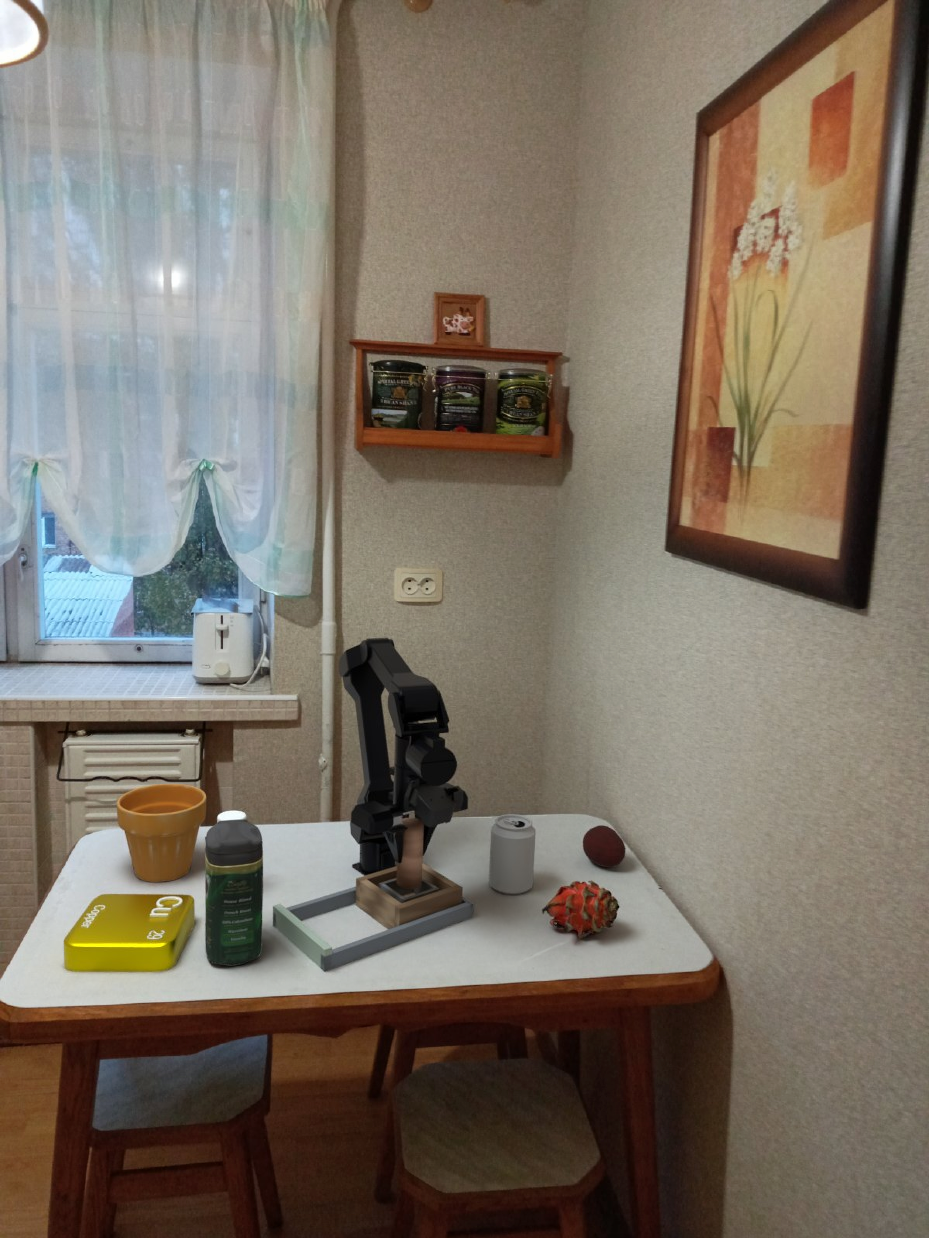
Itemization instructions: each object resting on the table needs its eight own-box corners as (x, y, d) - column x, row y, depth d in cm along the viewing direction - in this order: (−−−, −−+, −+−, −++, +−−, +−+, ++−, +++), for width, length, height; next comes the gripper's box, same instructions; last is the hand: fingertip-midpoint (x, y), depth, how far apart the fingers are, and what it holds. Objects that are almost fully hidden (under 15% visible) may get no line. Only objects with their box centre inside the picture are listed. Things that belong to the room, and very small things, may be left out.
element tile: (97, 918, 135) (96, 889, 135) (197, 919, 136) (197, 890, 136) (59, 974, 121) (57, 941, 120) (172, 974, 122) (171, 942, 121)
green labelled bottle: (265, 964, 124) (266, 838, 121) (207, 971, 122) (205, 844, 119) (259, 929, 133) (259, 812, 130) (204, 936, 131) (203, 816, 128)
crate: (355, 904, 141) (356, 878, 141) (416, 885, 149) (417, 859, 148) (398, 936, 132) (399, 908, 132) (461, 914, 140) (462, 887, 139)
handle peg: (391, 881, 140) (393, 821, 139) (412, 874, 143) (414, 815, 141) (406, 891, 137) (408, 829, 135) (426, 884, 140) (429, 824, 138)
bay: (272, 927, 134) (272, 905, 134) (415, 881, 151) (416, 862, 150) (324, 973, 123) (324, 949, 122) (472, 918, 139) (473, 897, 139)
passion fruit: (603, 878, 155) (605, 840, 154) (573, 859, 162) (575, 823, 161) (635, 870, 159) (638, 833, 158) (604, 852, 166) (607, 816, 165)
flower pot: (221, 858, 157) (220, 787, 155) (182, 895, 143) (181, 818, 141) (146, 849, 159) (145, 779, 157) (101, 884, 145) (99, 809, 143)
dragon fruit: (624, 944, 137) (546, 953, 136) (612, 892, 142) (538, 901, 142) (627, 919, 130) (546, 928, 130) (615, 866, 136) (537, 875, 136)
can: (529, 900, 146) (533, 831, 144) (484, 894, 147) (487, 825, 145) (535, 880, 153) (538, 814, 151) (492, 874, 155) (495, 809, 153)
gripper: (392, 791, 125) (389, 895, 127) (493, 767, 136) (488, 863, 139) (350, 768, 133) (348, 866, 136) (448, 748, 145) (444, 838, 147)
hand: (409, 858), depth 139 cm, fingers closed on handle peg, 4 cm apart
